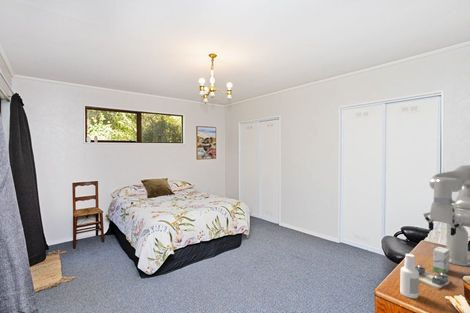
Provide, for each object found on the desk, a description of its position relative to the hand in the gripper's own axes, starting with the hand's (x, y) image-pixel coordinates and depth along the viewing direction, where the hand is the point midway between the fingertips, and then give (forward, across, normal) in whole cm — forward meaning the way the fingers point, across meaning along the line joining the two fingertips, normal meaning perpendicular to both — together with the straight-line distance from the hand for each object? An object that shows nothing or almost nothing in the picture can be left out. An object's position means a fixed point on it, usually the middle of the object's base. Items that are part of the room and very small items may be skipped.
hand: (441, 232), depth 137 cm
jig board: (+21, -2, +17) cm, 27 cm away
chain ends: (+21, -2, +17) cm, 27 cm away
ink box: (+21, 0, 0) cm, 21 cm away
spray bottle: (+22, -4, +40) cm, 46 cm away
